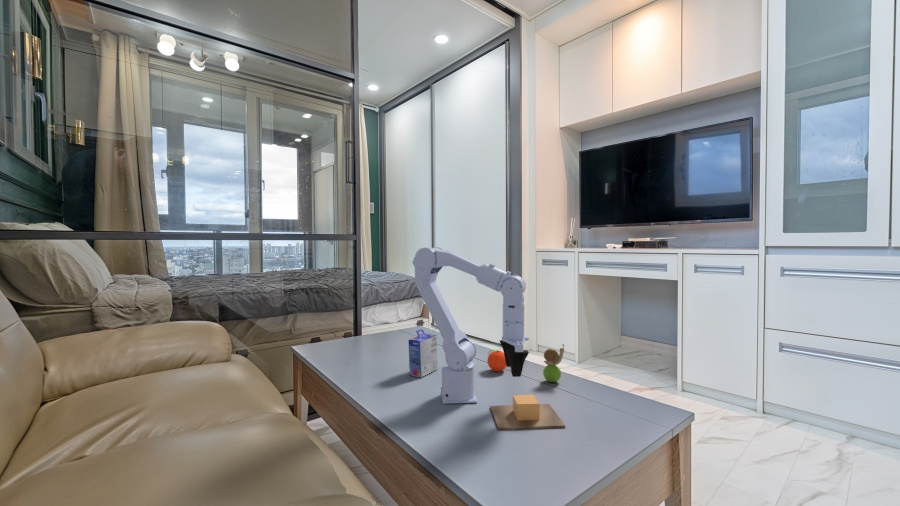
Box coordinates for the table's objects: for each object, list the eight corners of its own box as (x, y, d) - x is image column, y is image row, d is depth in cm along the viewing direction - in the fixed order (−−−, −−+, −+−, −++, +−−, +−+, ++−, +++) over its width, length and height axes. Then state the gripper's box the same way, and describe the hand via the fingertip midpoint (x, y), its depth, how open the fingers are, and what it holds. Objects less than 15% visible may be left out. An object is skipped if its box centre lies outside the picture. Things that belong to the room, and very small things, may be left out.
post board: (498, 430, 88) (498, 417, 88) (490, 407, 100) (490, 396, 100) (565, 427, 89) (565, 415, 89) (549, 405, 101) (549, 394, 101)
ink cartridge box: (425, 367, 134) (425, 326, 134) (438, 369, 131) (438, 328, 131) (408, 375, 126) (407, 332, 125) (421, 378, 123) (421, 334, 122)
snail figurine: (565, 385, 115) (565, 346, 115) (543, 384, 117) (543, 345, 116) (563, 379, 121) (563, 342, 120) (542, 378, 122) (542, 341, 122)
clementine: (481, 370, 130) (480, 349, 130) (494, 365, 135) (494, 345, 135) (498, 375, 124) (498, 354, 124) (511, 371, 129) (511, 350, 129)
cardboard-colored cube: (517, 420, 92) (517, 404, 92) (512, 410, 97) (512, 395, 97) (539, 419, 92) (539, 403, 92) (533, 410, 98) (533, 394, 98)
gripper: (535, 326, 94) (535, 380, 94) (521, 315, 108) (521, 362, 109) (507, 327, 94) (507, 381, 94) (497, 315, 108) (497, 362, 108)
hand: (513, 371), depth 101 cm, fingers open, 7 cm apart
